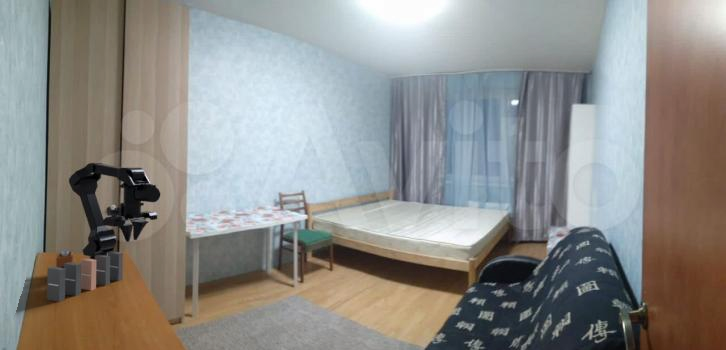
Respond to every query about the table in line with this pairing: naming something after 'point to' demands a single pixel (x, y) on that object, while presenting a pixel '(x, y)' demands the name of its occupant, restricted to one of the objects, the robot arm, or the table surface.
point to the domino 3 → (88, 274)
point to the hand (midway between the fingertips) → (131, 240)
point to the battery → (64, 258)
